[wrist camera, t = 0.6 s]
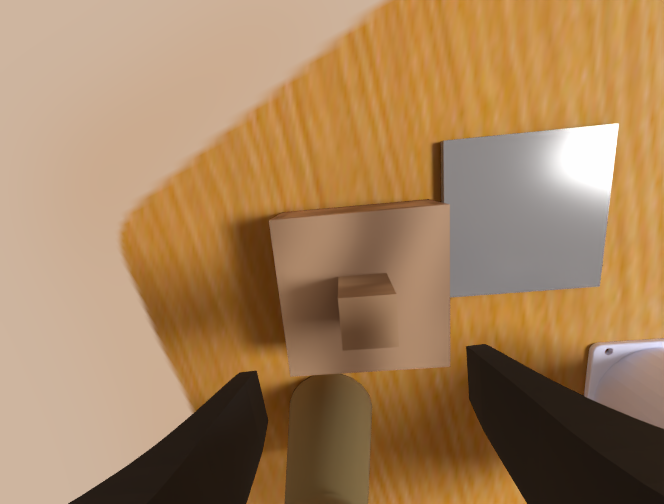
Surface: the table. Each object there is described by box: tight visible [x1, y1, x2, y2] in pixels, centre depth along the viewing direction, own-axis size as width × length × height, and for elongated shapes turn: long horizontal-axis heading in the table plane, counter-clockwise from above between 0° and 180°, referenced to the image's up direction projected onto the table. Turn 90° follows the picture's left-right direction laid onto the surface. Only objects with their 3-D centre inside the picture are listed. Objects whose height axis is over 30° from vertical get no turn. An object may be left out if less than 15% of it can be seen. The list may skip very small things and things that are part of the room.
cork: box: [285, 374, 372, 504], centre depth 17 cm, size 6×6×11 cm
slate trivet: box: [441, 123, 619, 297], centre depth 18 cm, size 10×10×1 cm
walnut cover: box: [269, 199, 450, 376], centre depth 17 cm, size 9×9×7 cm
